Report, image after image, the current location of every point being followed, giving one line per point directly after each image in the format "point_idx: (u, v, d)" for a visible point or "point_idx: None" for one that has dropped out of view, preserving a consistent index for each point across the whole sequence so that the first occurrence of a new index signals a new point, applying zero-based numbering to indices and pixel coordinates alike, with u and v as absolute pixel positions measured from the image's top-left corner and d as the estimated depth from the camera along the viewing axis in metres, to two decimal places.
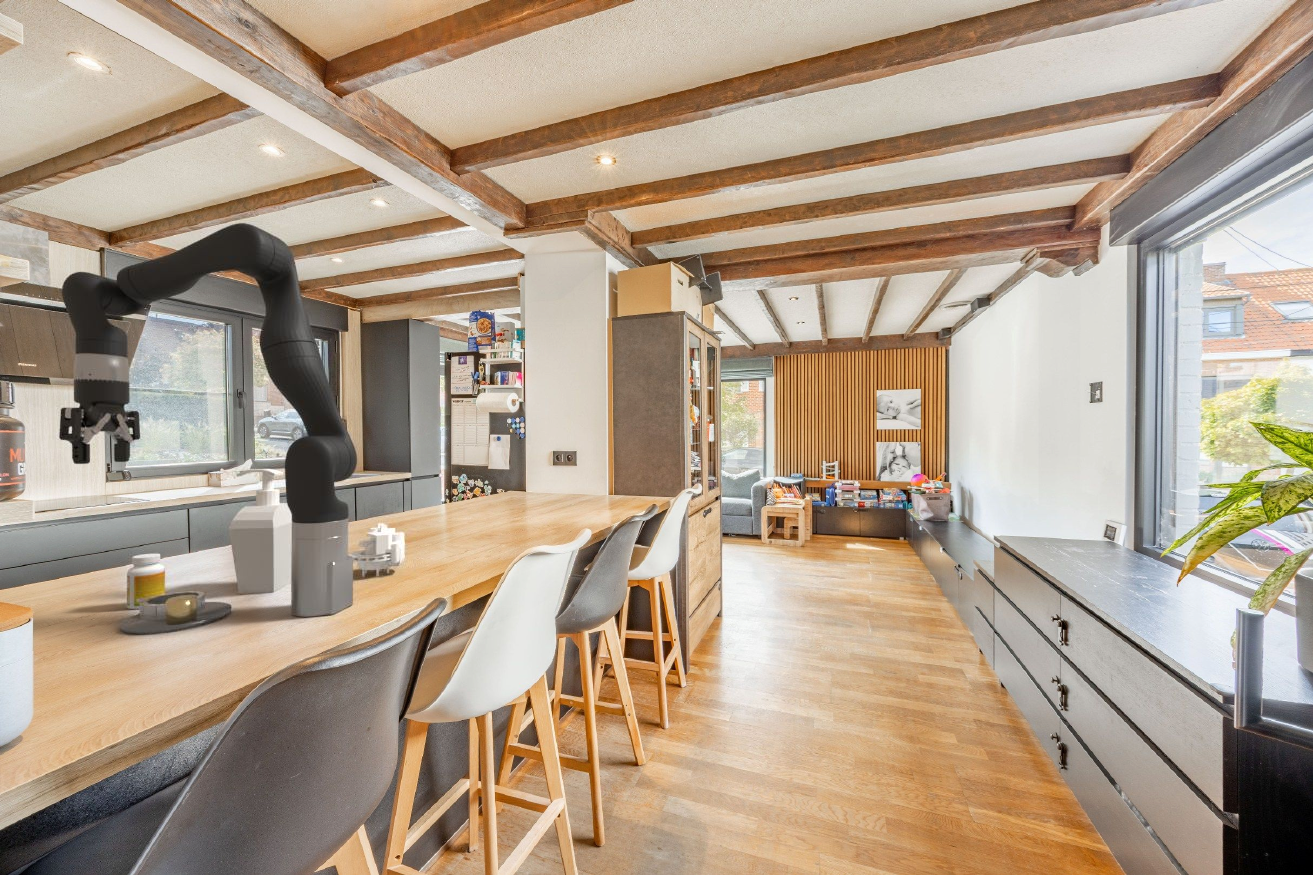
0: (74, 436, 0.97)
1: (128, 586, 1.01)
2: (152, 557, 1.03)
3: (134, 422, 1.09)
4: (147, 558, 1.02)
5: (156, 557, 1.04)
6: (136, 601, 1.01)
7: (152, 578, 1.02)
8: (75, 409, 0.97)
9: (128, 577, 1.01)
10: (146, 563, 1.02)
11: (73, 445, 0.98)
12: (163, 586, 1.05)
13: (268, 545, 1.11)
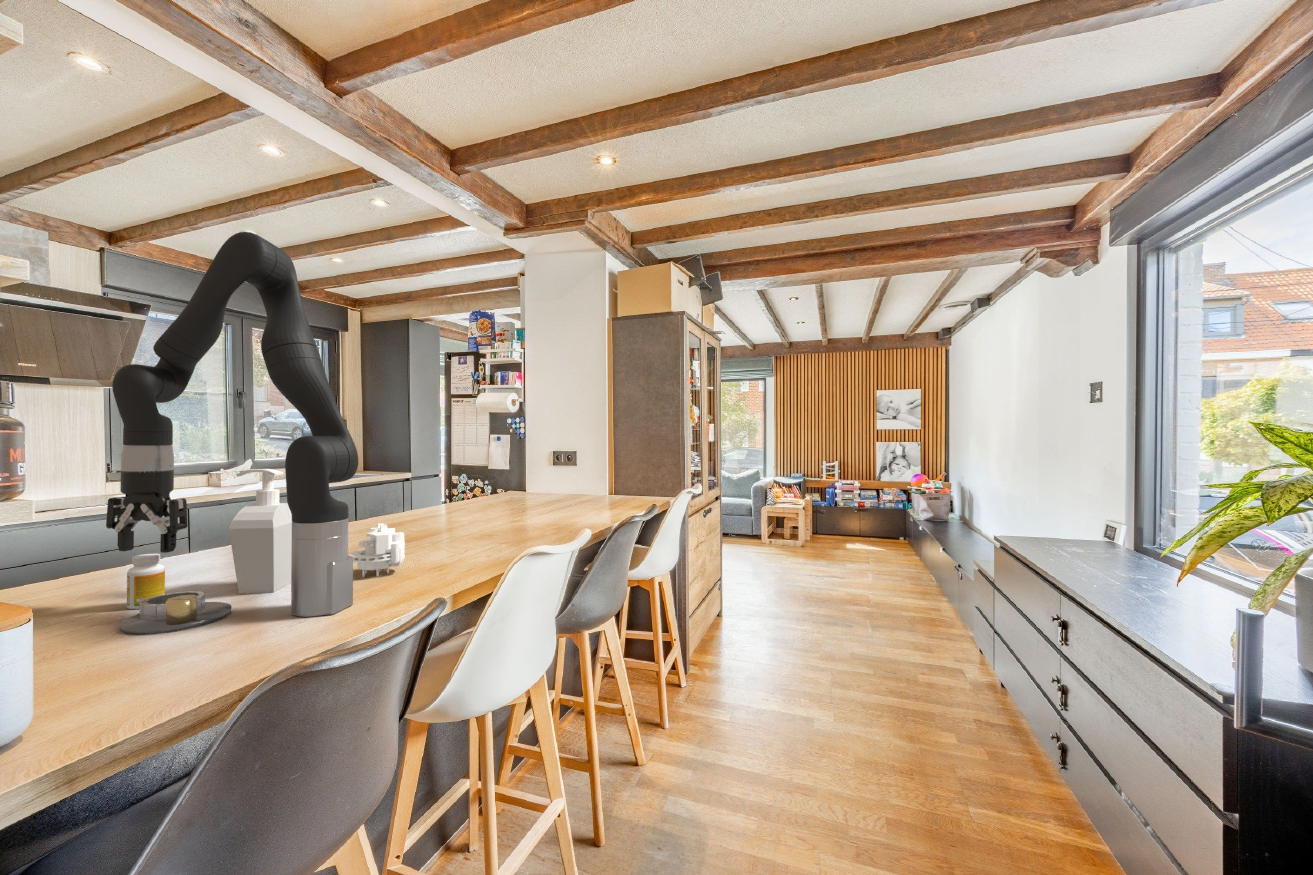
0: (187, 524, 1.05)
1: (128, 586, 1.01)
2: (152, 557, 1.03)
3: (125, 508, 1.05)
4: (147, 558, 1.02)
5: (156, 557, 1.04)
6: (136, 600, 1.01)
7: (152, 578, 1.02)
8: (185, 500, 1.05)
9: (128, 577, 1.01)
10: (146, 563, 1.02)
11: (170, 534, 1.03)
12: (163, 586, 1.05)
13: (268, 545, 1.11)
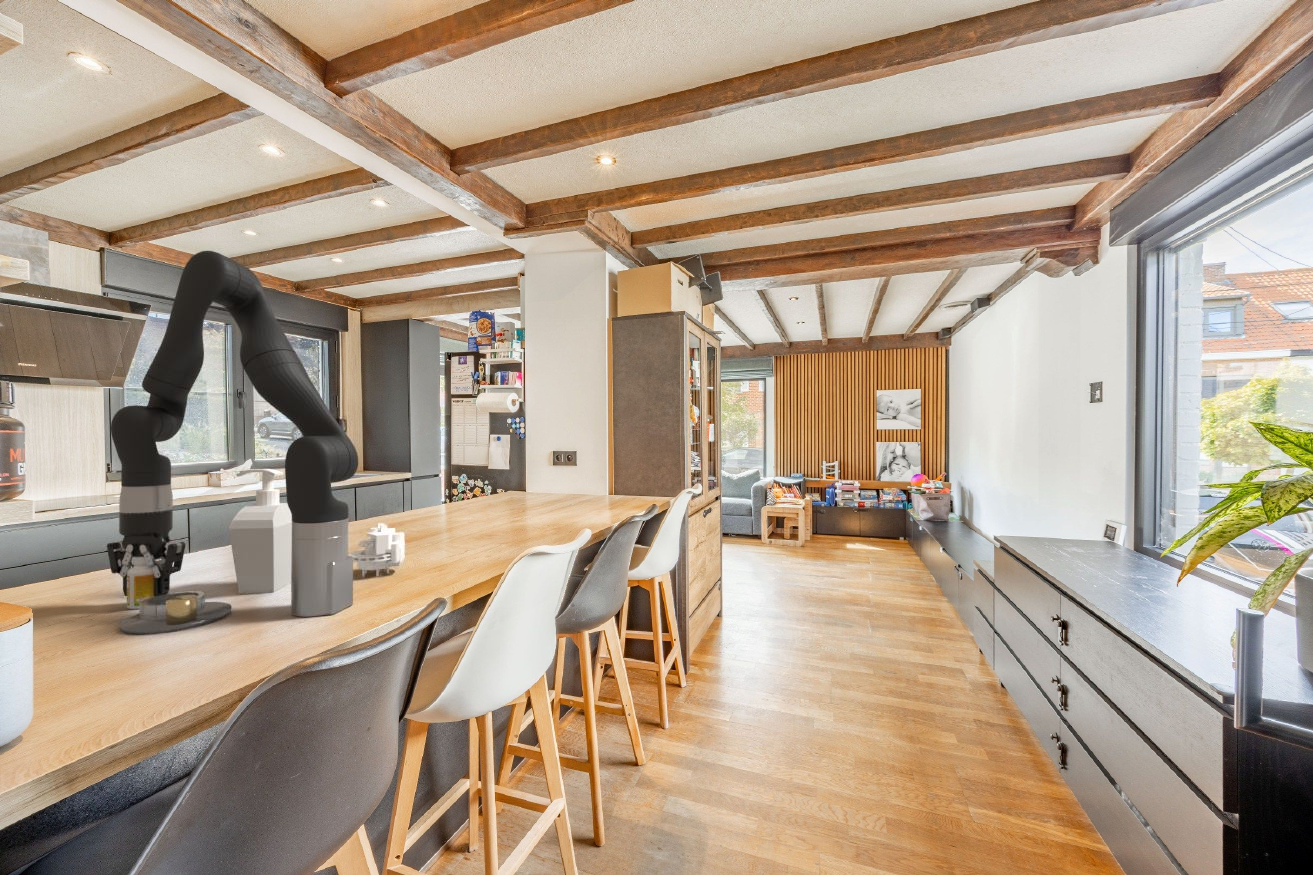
0: (180, 568, 1.05)
1: (128, 586, 1.01)
2: None
3: None
4: None
5: None
6: (136, 600, 1.01)
7: (152, 578, 1.02)
8: (184, 544, 1.04)
9: (128, 577, 1.01)
10: None
11: (164, 578, 1.03)
12: None
13: (268, 545, 1.11)
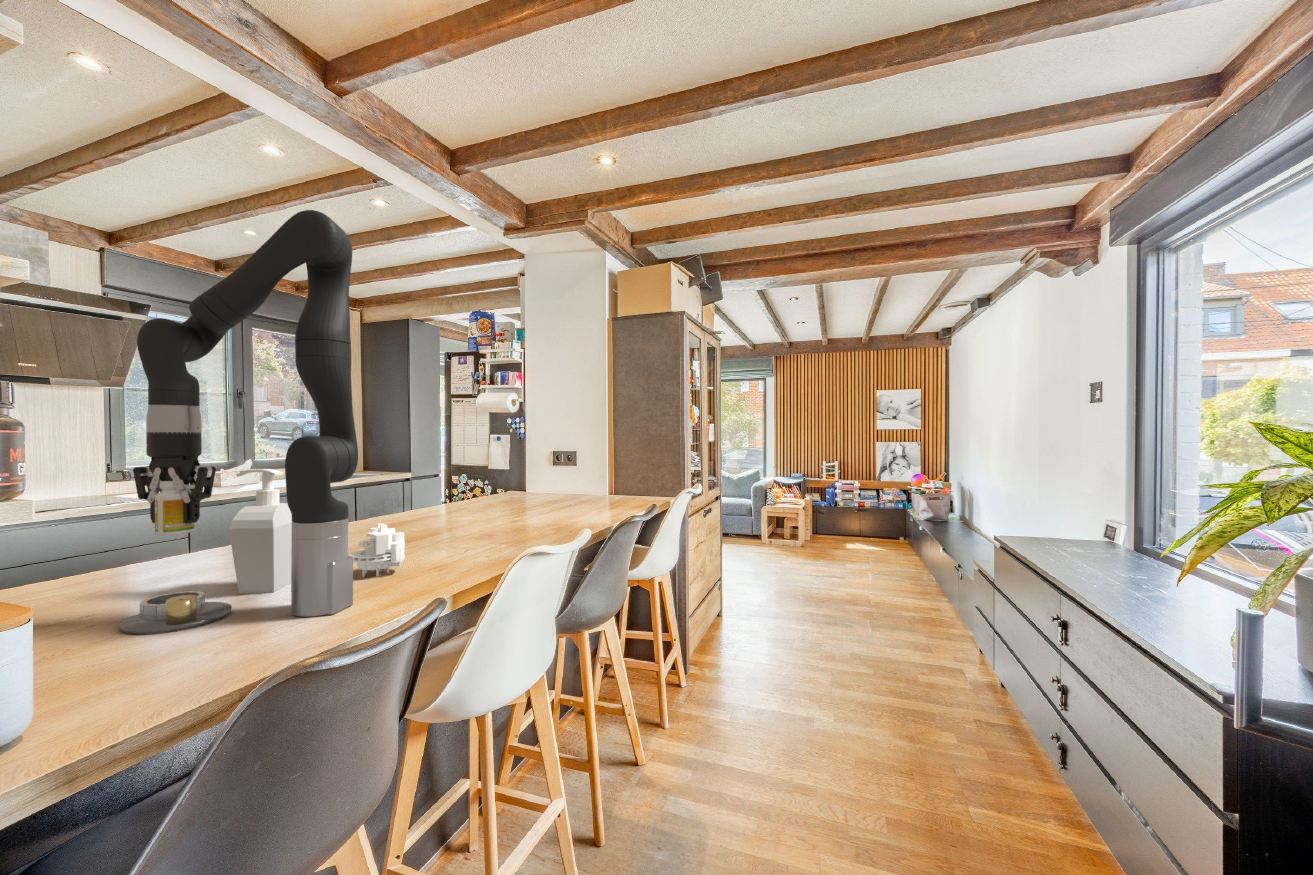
0: None
1: (156, 511, 0.95)
2: None
3: (153, 478, 0.99)
4: None
5: None
6: (165, 526, 0.95)
7: (182, 504, 0.96)
8: (214, 469, 0.98)
9: (156, 501, 0.95)
10: (175, 487, 0.96)
11: (194, 504, 0.97)
12: None
13: (268, 545, 1.11)
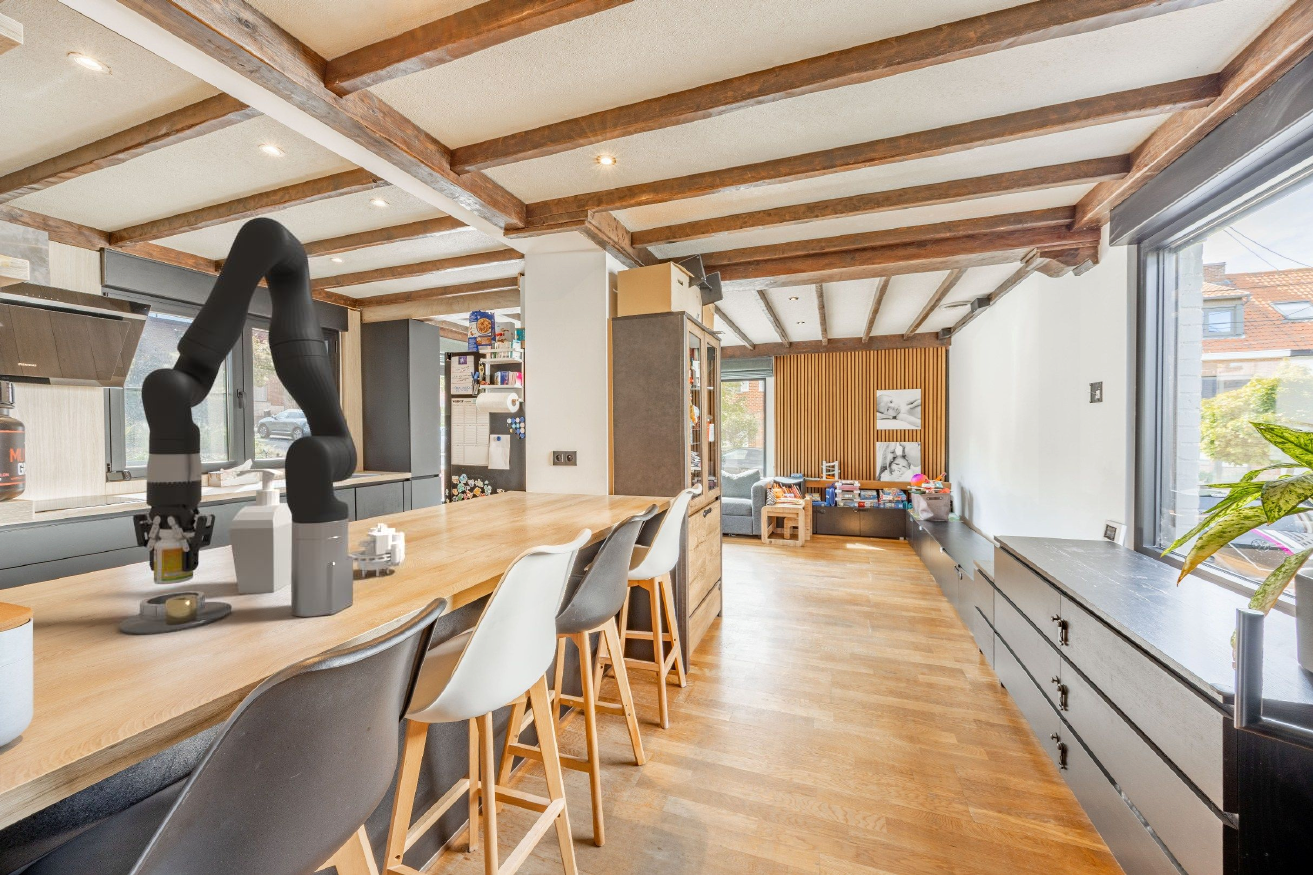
0: None
1: (155, 560, 0.95)
2: None
3: (153, 524, 0.99)
4: None
5: None
6: (163, 575, 0.95)
7: (181, 552, 0.97)
8: (214, 517, 0.98)
9: (155, 550, 0.95)
10: None
11: (193, 552, 0.97)
12: None
13: (268, 545, 1.11)
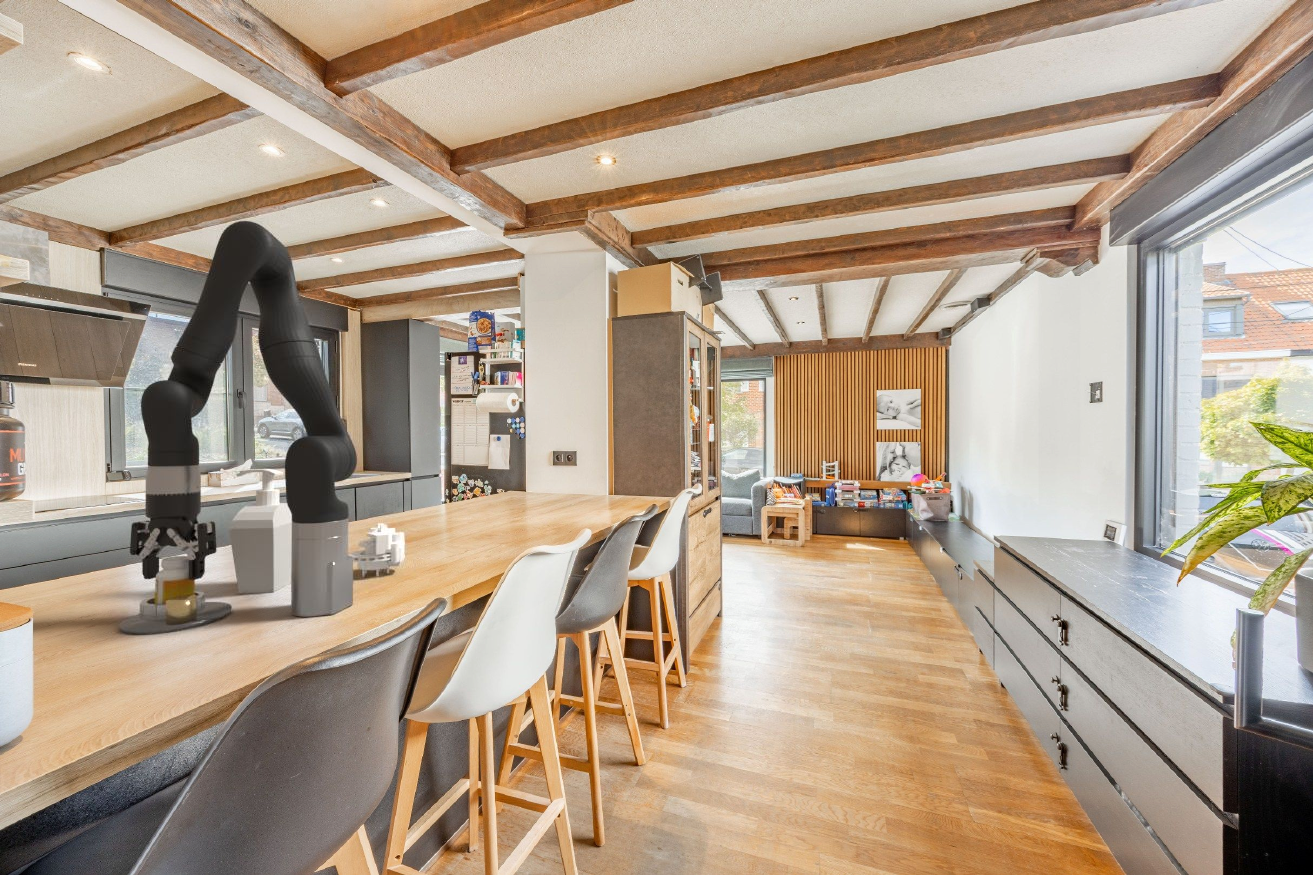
0: None
1: (156, 591, 0.95)
2: (182, 561, 0.97)
3: (149, 533, 0.99)
4: (177, 562, 0.96)
5: (186, 561, 0.97)
6: None
7: (182, 583, 0.96)
8: (214, 523, 0.98)
9: (157, 581, 0.95)
10: (176, 566, 0.96)
11: (199, 560, 0.97)
12: (192, 592, 0.98)
13: (268, 545, 1.11)
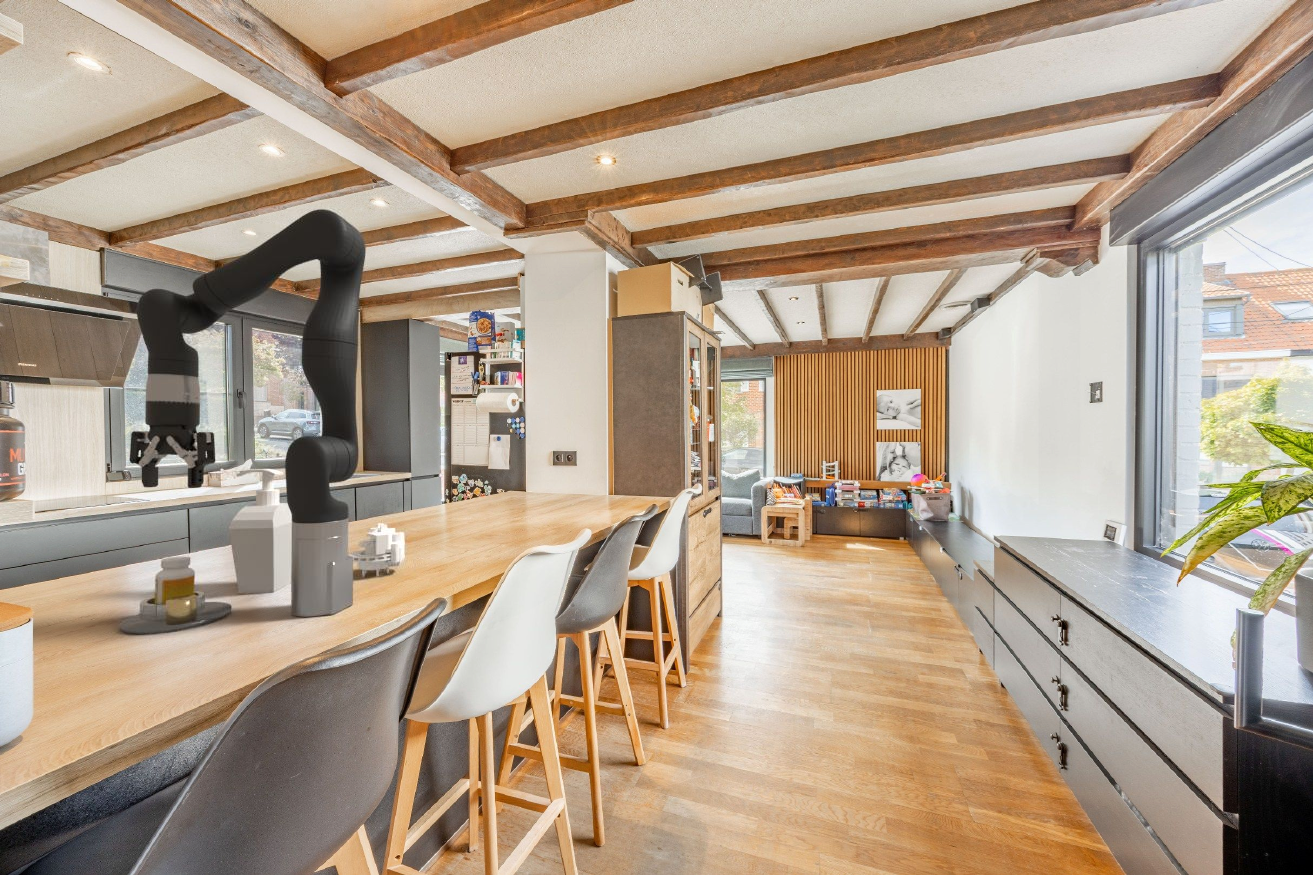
0: None
1: (156, 591, 0.95)
2: (182, 560, 0.97)
3: (149, 444, 1.00)
4: (176, 561, 0.96)
5: (186, 560, 0.98)
6: None
7: (181, 583, 0.96)
8: (213, 434, 1.00)
9: (156, 581, 0.95)
10: (176, 566, 0.96)
11: (198, 469, 0.98)
12: (192, 592, 0.98)
13: (268, 545, 1.11)
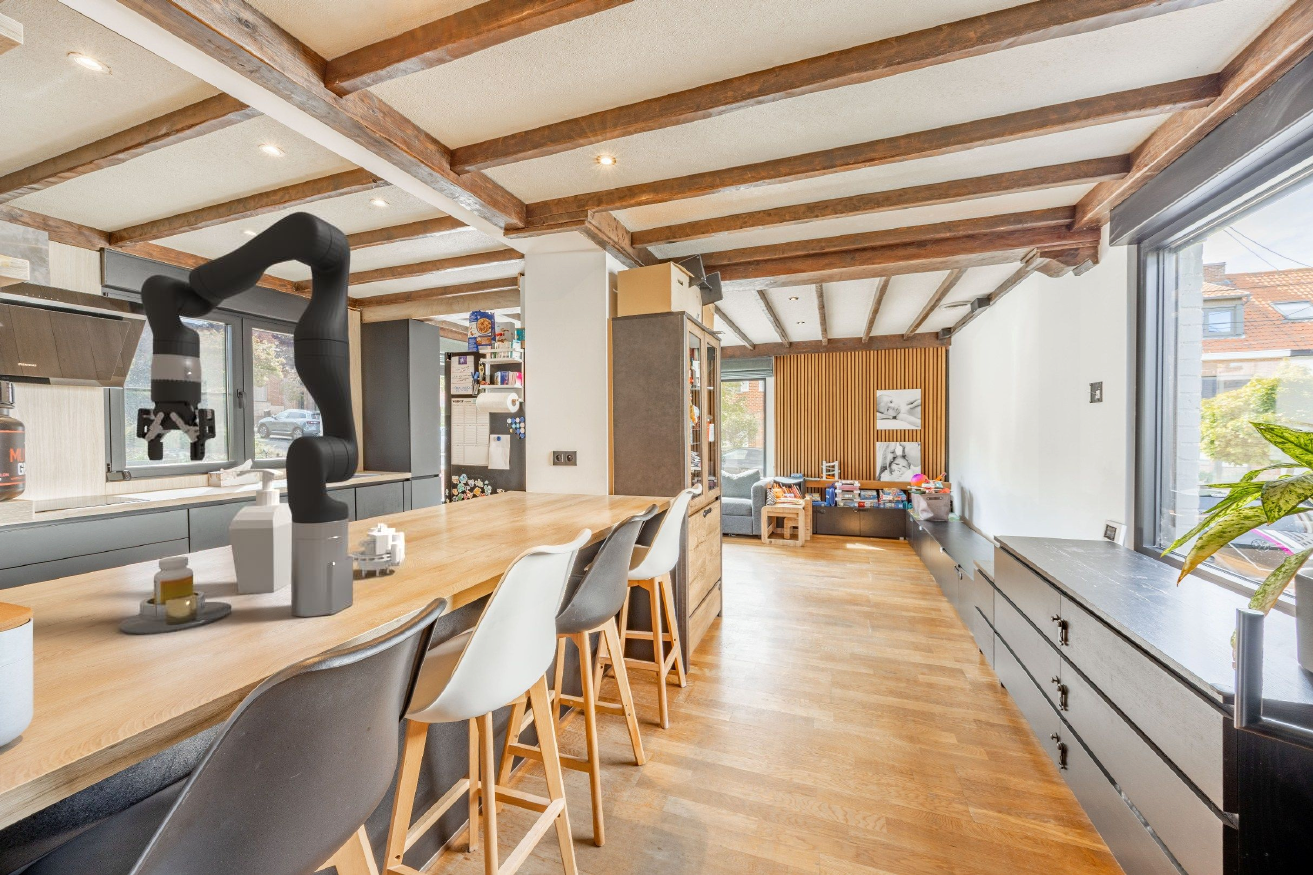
0: (215, 434, 1.07)
1: (155, 591, 0.95)
2: (179, 561, 0.97)
3: (154, 420, 1.08)
4: (174, 562, 0.96)
5: (183, 561, 0.97)
6: None
7: (179, 583, 0.96)
8: (213, 410, 1.07)
9: (155, 582, 0.95)
10: (173, 567, 0.96)
11: (200, 443, 1.06)
12: (191, 592, 0.98)
13: (268, 545, 1.11)
